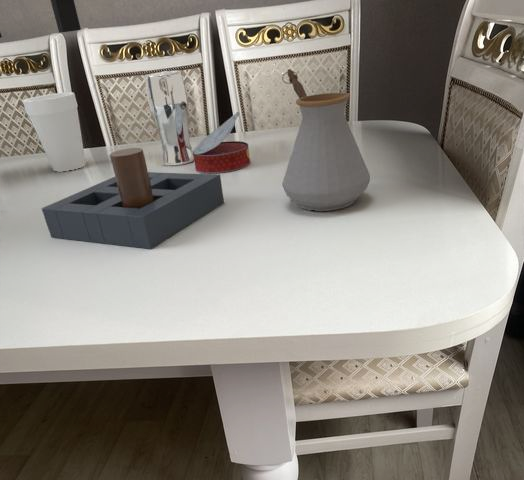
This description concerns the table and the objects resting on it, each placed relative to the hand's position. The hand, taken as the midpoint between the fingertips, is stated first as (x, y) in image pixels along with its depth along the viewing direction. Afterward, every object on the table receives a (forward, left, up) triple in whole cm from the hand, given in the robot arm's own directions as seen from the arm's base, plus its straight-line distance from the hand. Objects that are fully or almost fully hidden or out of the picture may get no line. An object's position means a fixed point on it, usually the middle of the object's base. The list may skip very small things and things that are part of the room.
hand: (28, 35), depth 63 cm
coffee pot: (+28, +17, -23) cm, 41 cm away
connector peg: (+12, -1, -23) cm, 26 cm away
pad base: (+8, +2, -23) cm, 24 cm away
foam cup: (-29, +25, -23) cm, 45 cm away
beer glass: (-6, +31, -23) cm, 39 cm away
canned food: (+5, +29, -23) cm, 38 cm away
